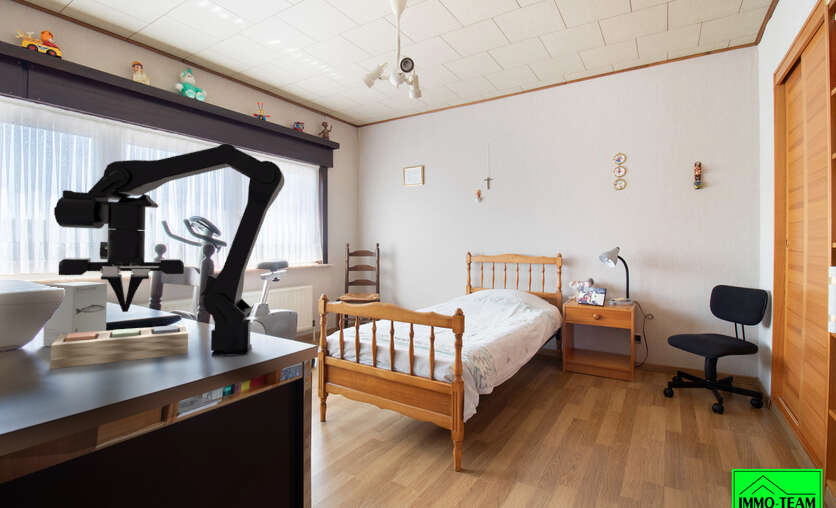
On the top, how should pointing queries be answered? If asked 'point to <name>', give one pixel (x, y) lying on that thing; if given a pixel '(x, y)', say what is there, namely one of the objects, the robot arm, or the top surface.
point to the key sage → (125, 332)
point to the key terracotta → (81, 336)
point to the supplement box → (78, 310)
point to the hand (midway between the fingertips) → (125, 311)
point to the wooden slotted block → (117, 347)
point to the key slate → (165, 329)
